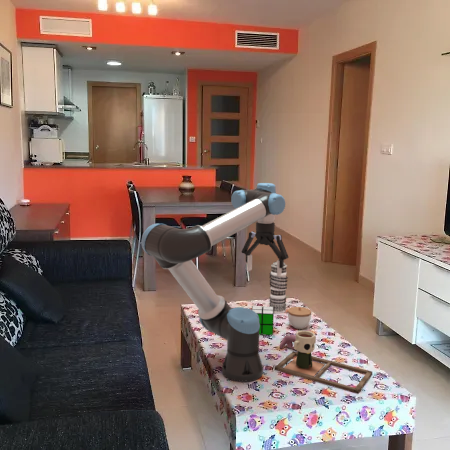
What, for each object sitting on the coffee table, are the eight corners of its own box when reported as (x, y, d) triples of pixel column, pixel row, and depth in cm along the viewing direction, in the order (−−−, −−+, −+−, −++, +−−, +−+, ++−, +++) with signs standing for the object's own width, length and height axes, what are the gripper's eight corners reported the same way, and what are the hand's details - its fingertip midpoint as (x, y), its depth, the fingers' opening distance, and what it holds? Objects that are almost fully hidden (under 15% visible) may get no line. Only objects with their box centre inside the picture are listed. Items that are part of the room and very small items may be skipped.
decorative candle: (266, 307, 254) (268, 260, 249) (284, 307, 255) (285, 260, 250) (270, 313, 245) (271, 265, 240) (288, 313, 246) (290, 264, 241)
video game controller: (303, 355, 201) (308, 339, 203) (298, 354, 198) (303, 337, 199) (283, 349, 207) (287, 332, 209) (277, 347, 204) (282, 331, 205)
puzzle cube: (273, 327, 228) (273, 306, 226) (273, 335, 218) (273, 314, 216) (251, 326, 229) (251, 305, 227) (250, 334, 219) (250, 313, 217)
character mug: (299, 373, 182) (301, 340, 180) (287, 366, 188) (288, 334, 186) (320, 366, 188) (322, 334, 186) (307, 359, 194) (309, 328, 192)
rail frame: (358, 393, 169) (358, 390, 169) (274, 369, 185) (274, 367, 185) (372, 374, 183) (372, 371, 183) (293, 353, 200) (293, 351, 199)
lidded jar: (308, 322, 234) (309, 303, 232) (312, 330, 224) (313, 311, 222) (285, 322, 234) (286, 303, 232) (289, 330, 223) (290, 311, 222)
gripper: (297, 223, 194) (295, 275, 198) (243, 217, 207) (242, 266, 211) (289, 226, 188) (287, 279, 191) (234, 220, 201) (233, 270, 204)
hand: (264, 273), depth 201 cm, fingers open, 13 cm apart
